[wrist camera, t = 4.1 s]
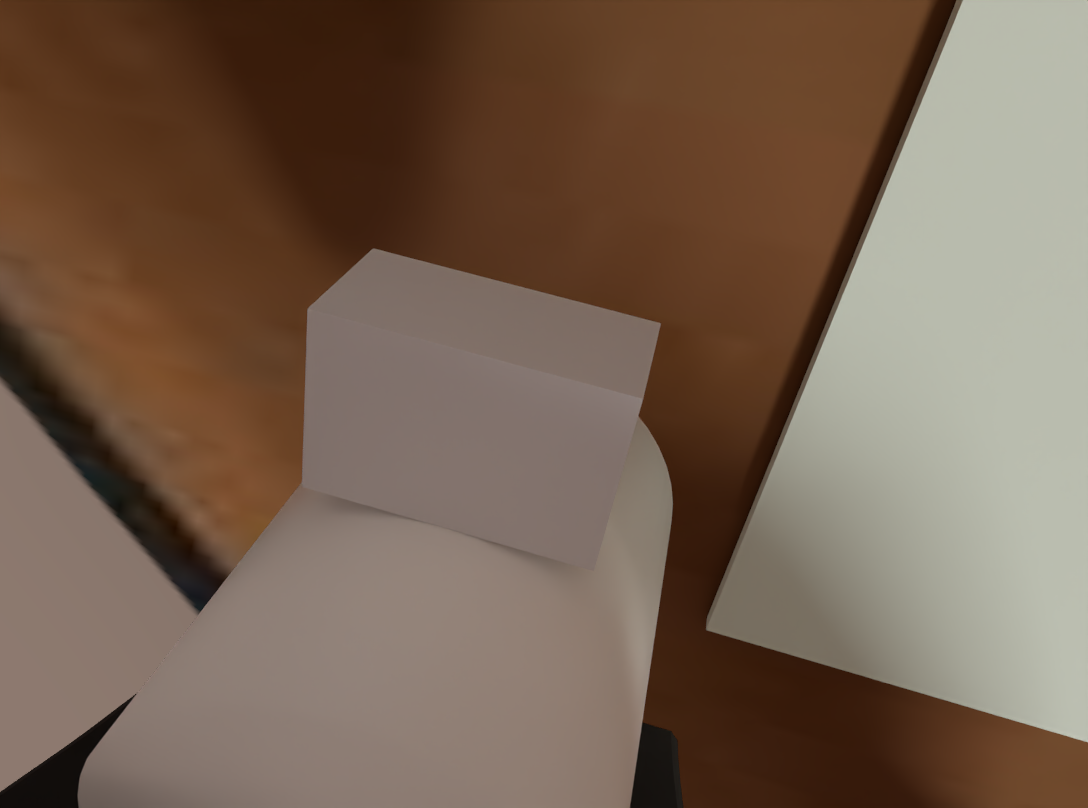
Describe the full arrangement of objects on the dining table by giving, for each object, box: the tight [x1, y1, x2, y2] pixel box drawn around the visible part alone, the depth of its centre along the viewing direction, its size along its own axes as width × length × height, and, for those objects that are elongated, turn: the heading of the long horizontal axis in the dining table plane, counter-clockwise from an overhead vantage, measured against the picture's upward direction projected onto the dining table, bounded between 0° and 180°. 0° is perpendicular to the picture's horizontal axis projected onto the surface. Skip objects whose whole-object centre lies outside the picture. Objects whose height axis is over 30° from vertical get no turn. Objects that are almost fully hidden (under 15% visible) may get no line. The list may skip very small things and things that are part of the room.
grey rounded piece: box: [78, 248, 673, 808], centre depth 9 cm, size 11×4×5 cm, turn 170°
